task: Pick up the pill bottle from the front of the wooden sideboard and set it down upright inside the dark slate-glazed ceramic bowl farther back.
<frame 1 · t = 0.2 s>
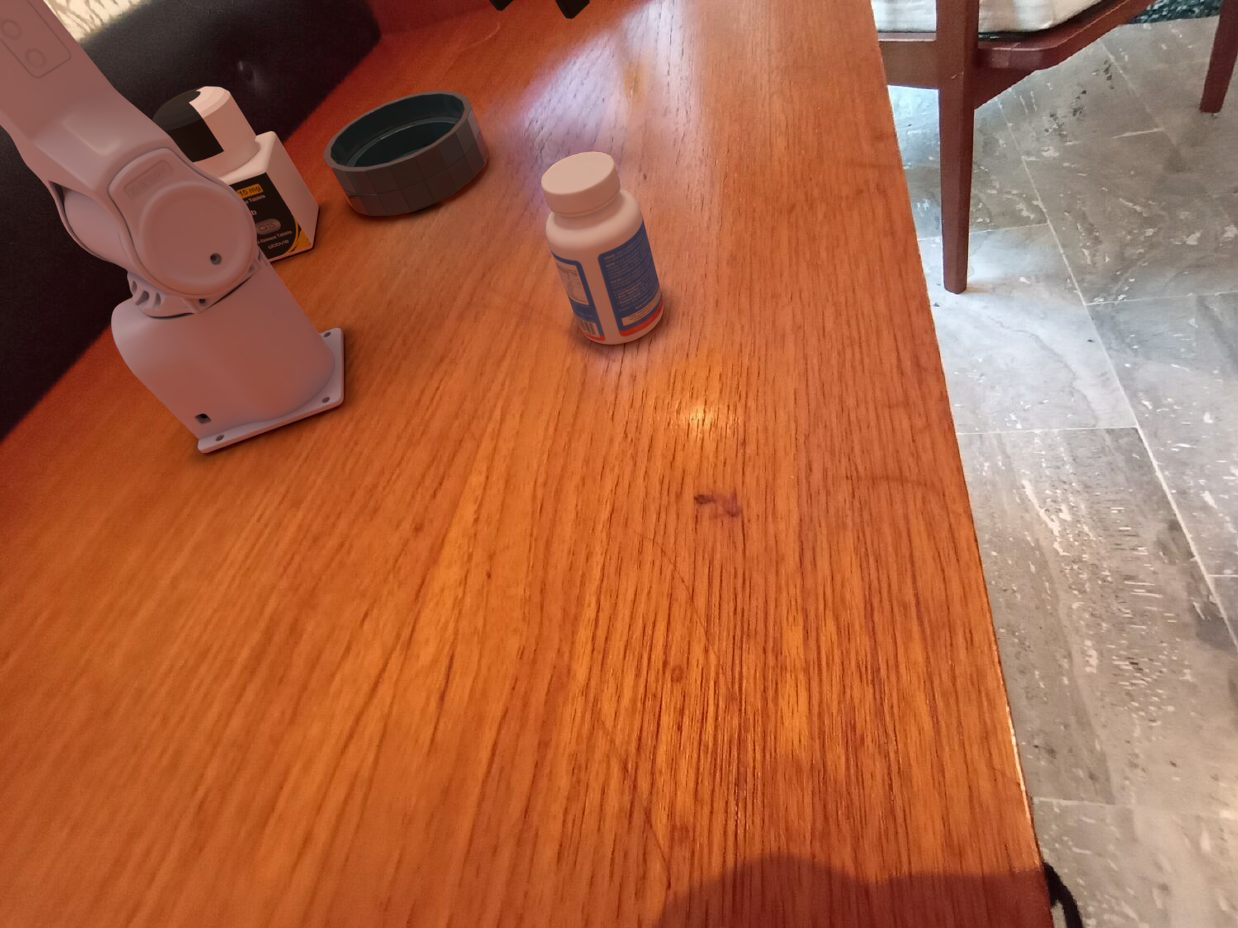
hand: (541, 6, 53), 11 cm above the table, tool pointing down, fingers open, 7 cm apart
pill bottle: (622, 320, 45), on the table
medicine bottle: (279, 242, 62), on the table
bowl: (420, 178, 64), on the table
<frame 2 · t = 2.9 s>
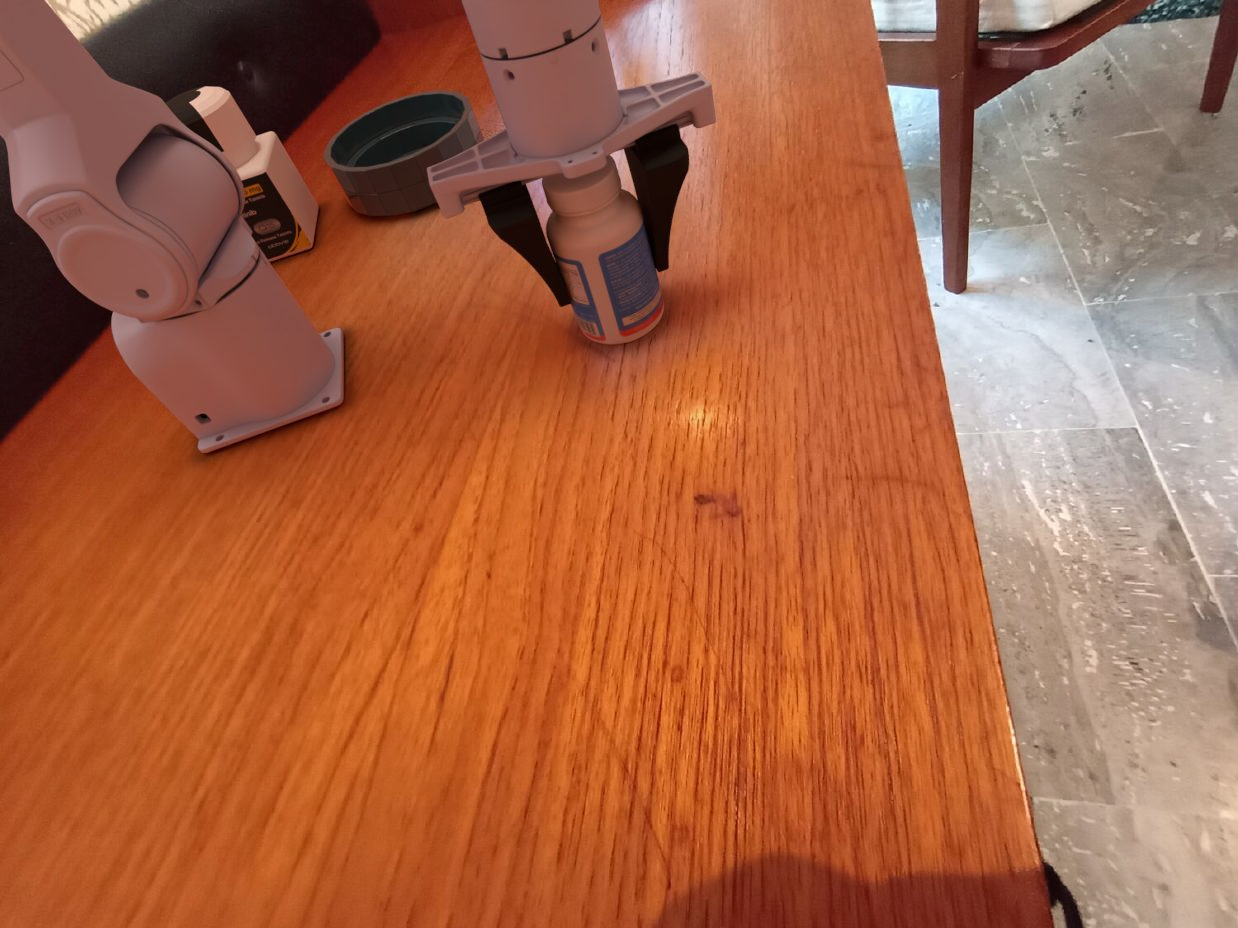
hand: (610, 279, 43), 3 cm above the table, tool pointing down, fingers closed on pill bottle, 5 cm apart
pill bottle: (622, 320, 45), on the table, touching gripper
everything else where it was.
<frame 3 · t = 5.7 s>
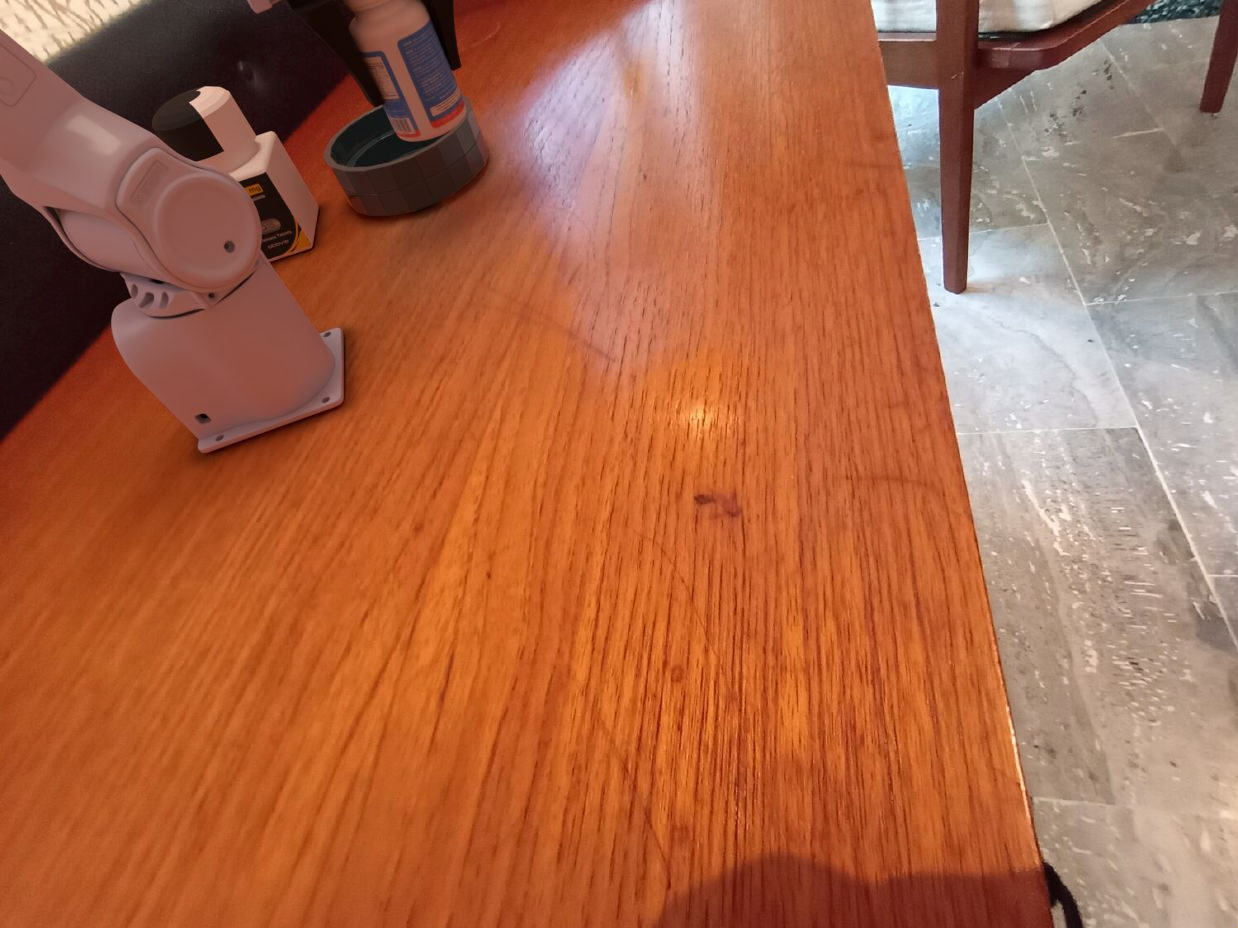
hand: (414, 84, 51), 10 cm above the table, tool pointing down, fingers closed on pill bottle, 5 cm apart
pill bottle: (433, 127, 53), point 7 cm above the table, touching gripper
everything else where it was.
when the fingers open (3 cm above the table, at t = 8.6 s): pill bottle stays where it is, resting on bowl.
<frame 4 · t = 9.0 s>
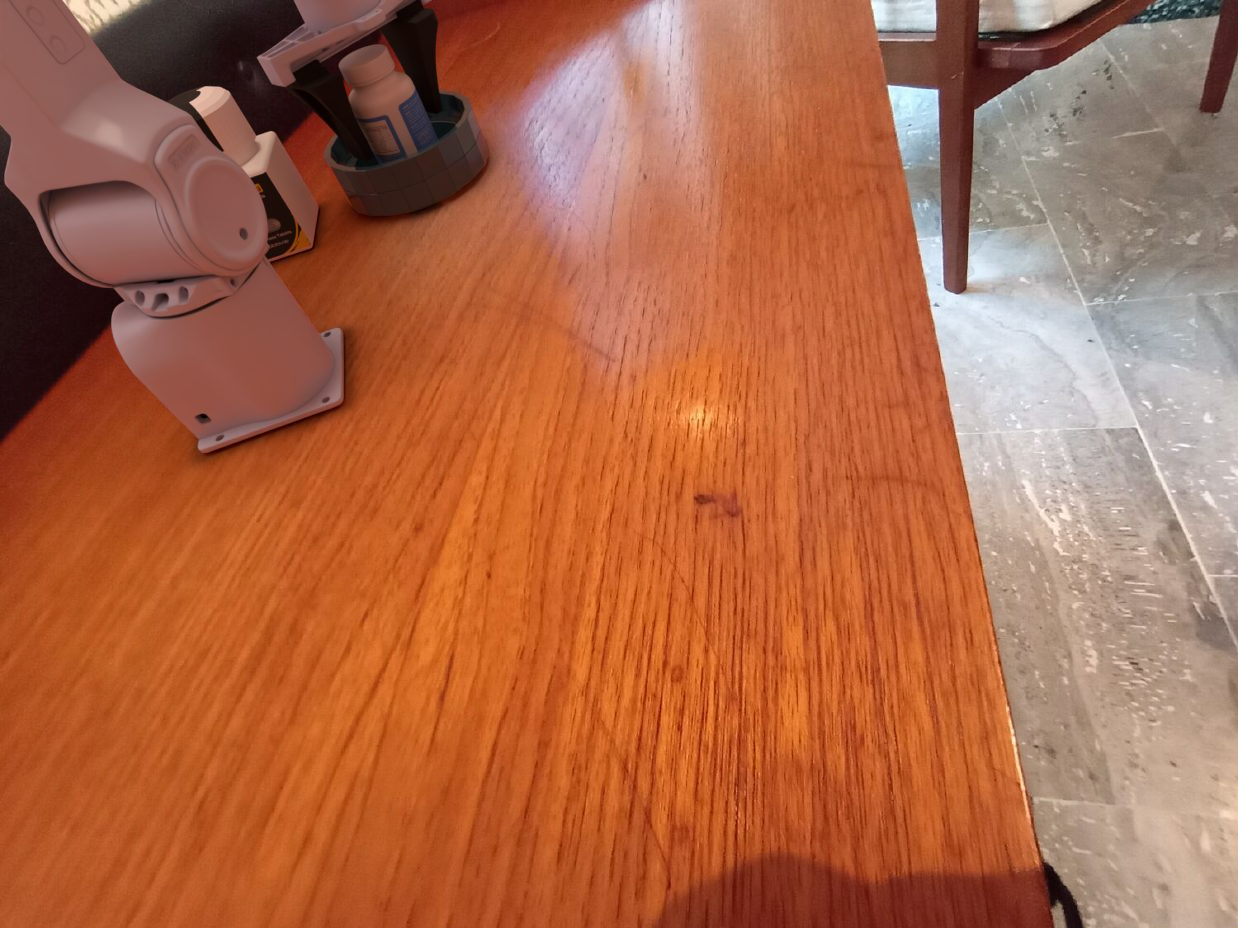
hand: (399, 133, 61), 4 cm above the table, tool pointing down, fingers open, 7 cm apart
pill bottle: (419, 175, 63), resting on bowl
everything else where it was.
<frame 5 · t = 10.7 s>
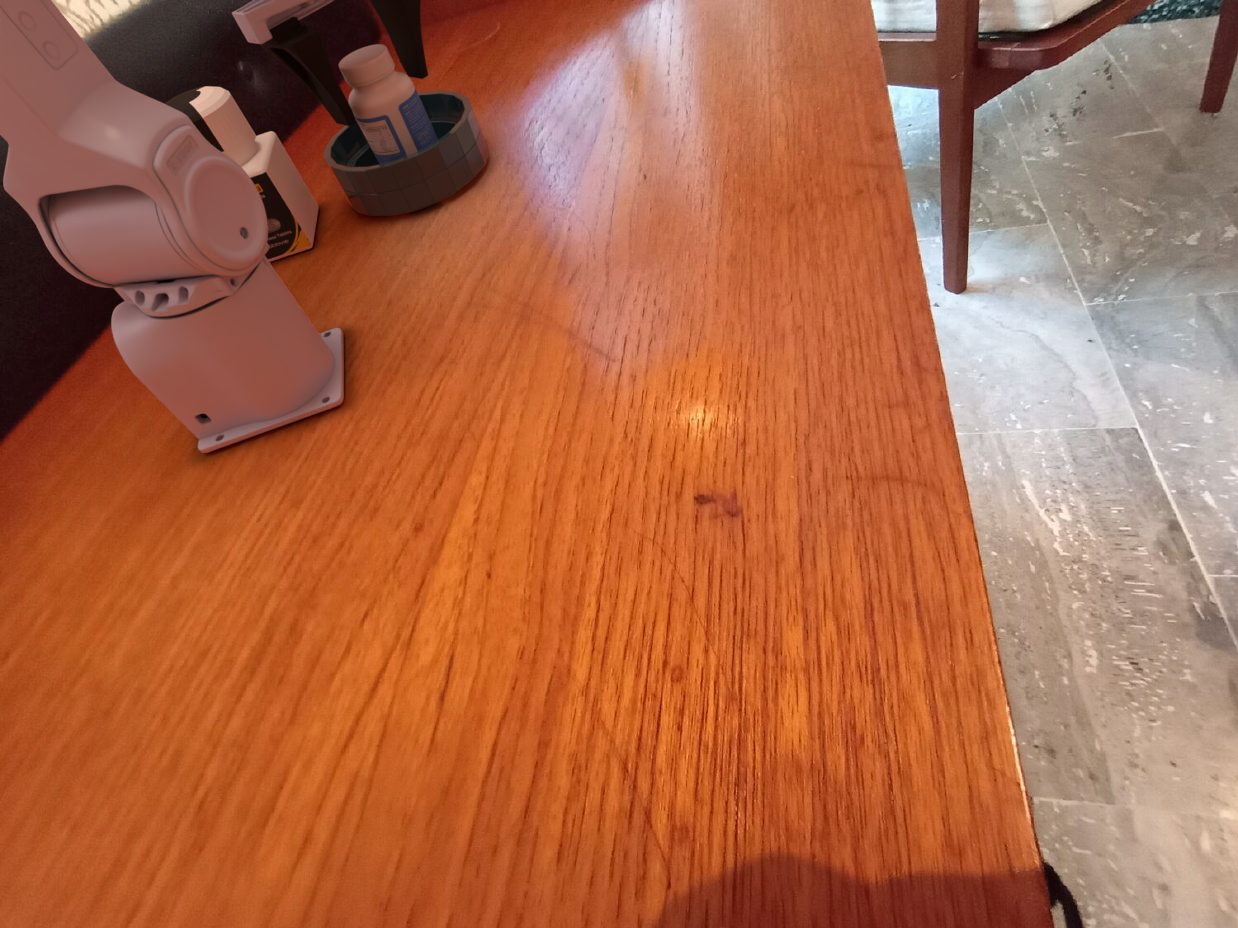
hand: (383, 99, 58), 7 cm above the table, tool pointing down, fingers open, 7 cm apart
nothing on the table moved.
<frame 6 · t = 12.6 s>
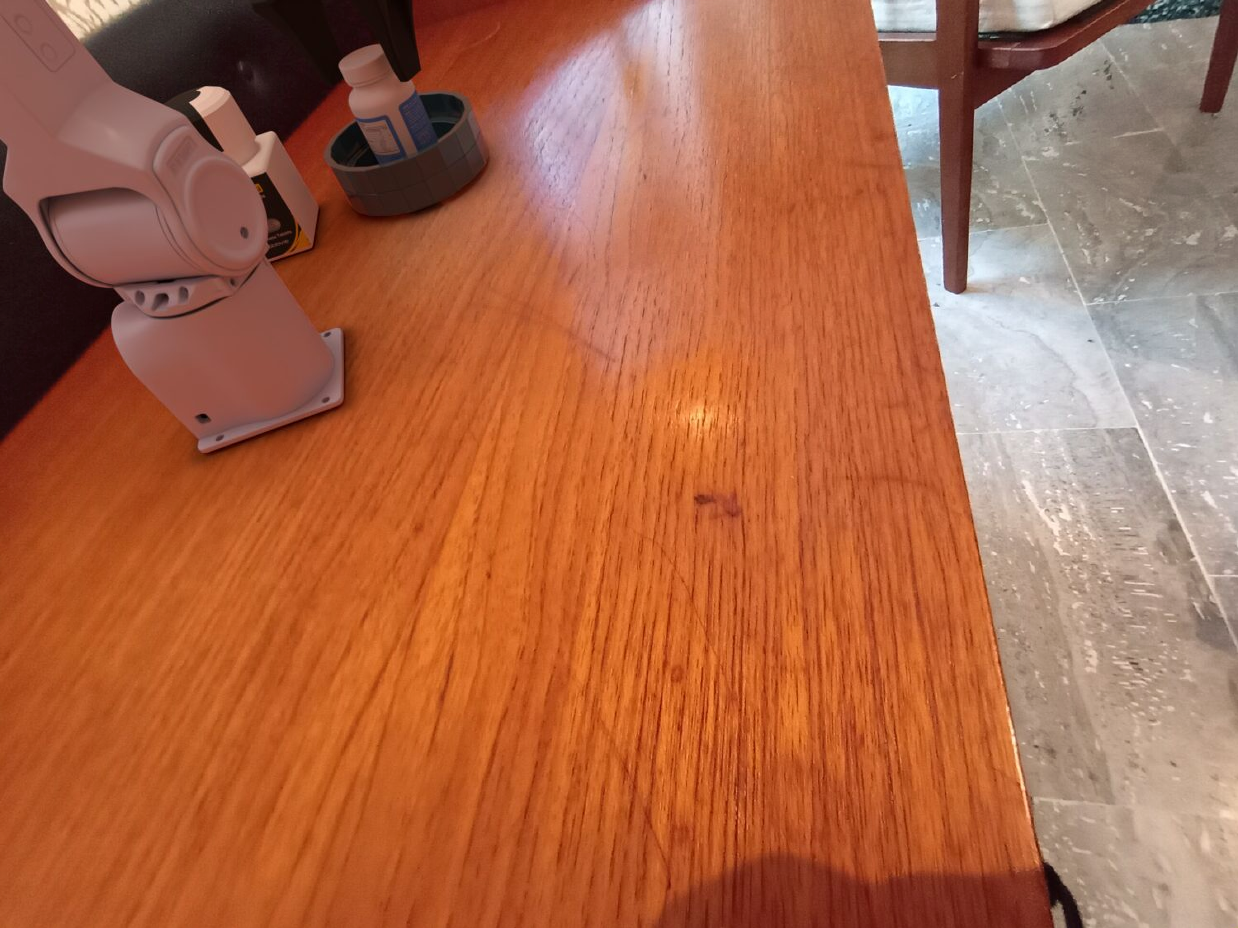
hand: (373, 78, 57), 9 cm above the table, tool pointing down, fingers open, 7 cm apart
nothing on the table moved.
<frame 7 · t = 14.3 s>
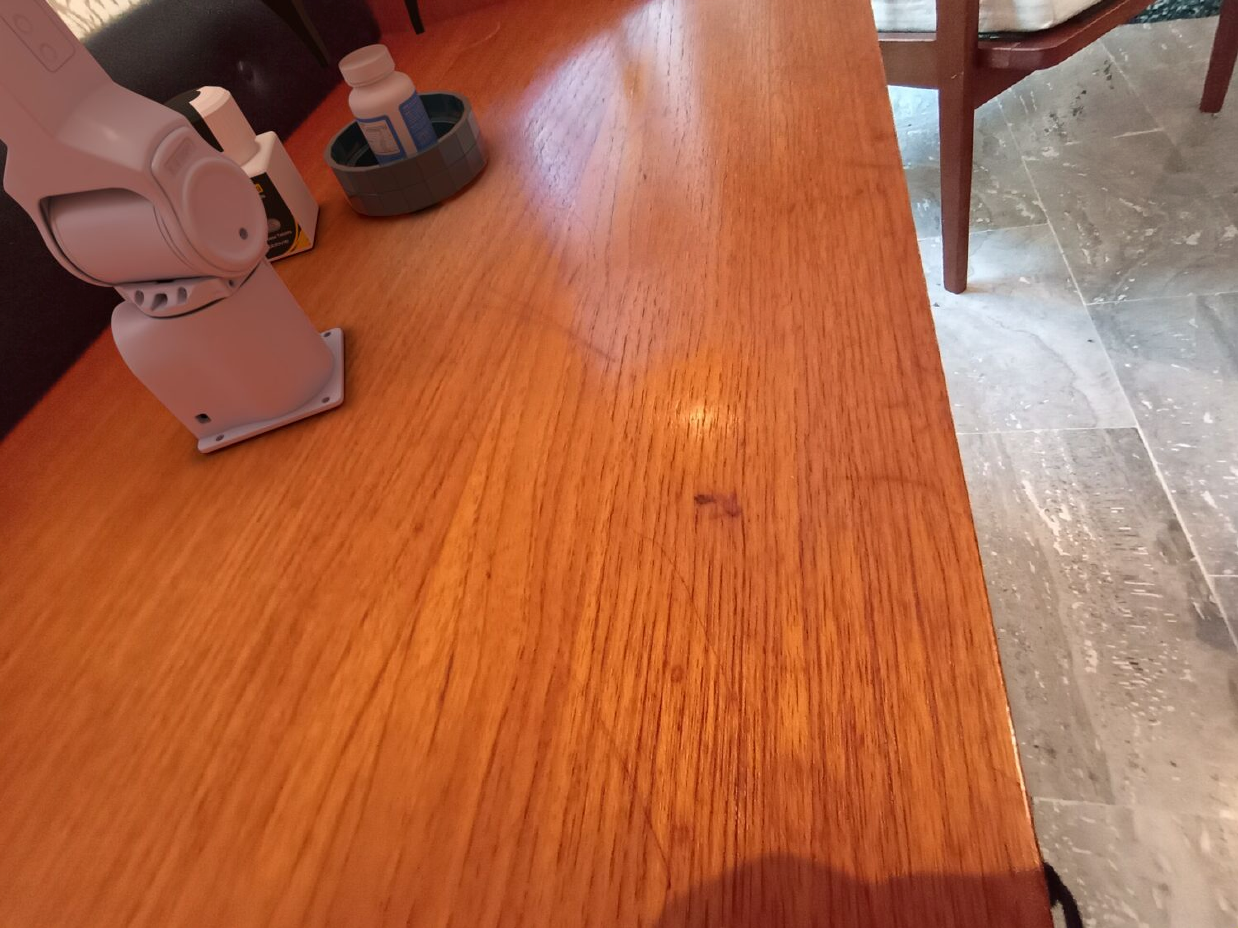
hand: (372, 47, 56), 10 cm above the table, tool pointing down, fingers open, 7 cm apart
nothing on the table moved.
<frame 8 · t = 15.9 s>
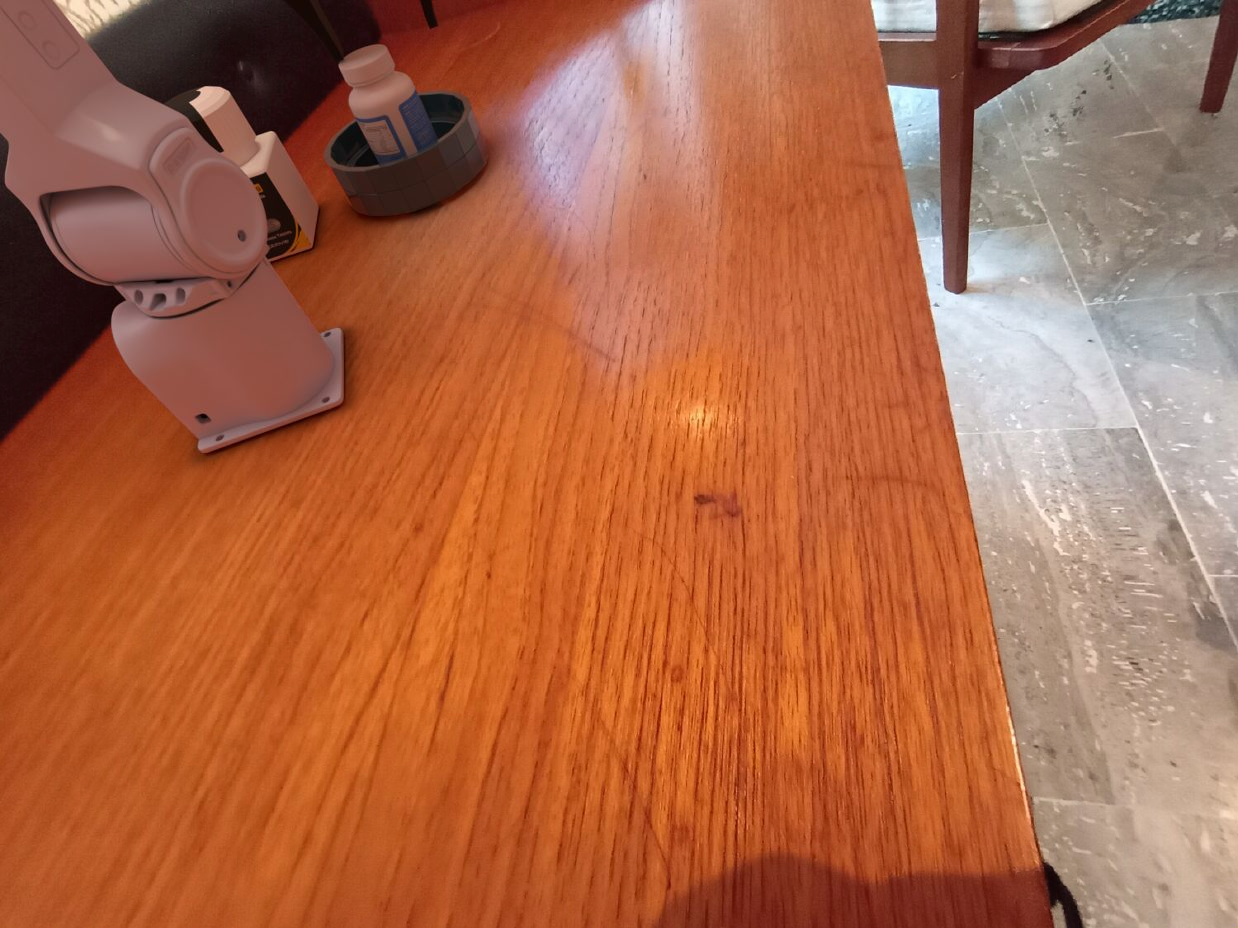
hand: (386, 40, 57), 10 cm above the table, tool pointing down, fingers open, 7 cm apart
nothing on the table moved.
at the end: pill bottle inside the target area in the bowl (0.0 cm from its centre), point 0.3 cm above the bowl's base; pill bottle tilted 0°; the gripper is holding nothing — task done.
